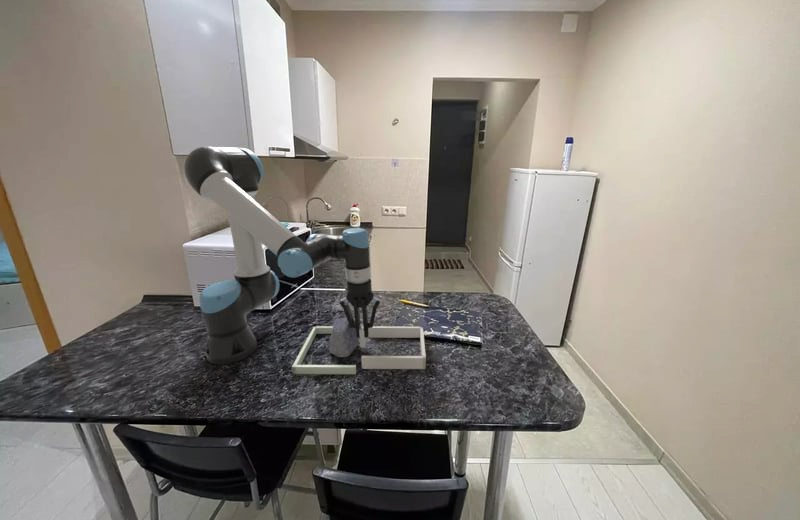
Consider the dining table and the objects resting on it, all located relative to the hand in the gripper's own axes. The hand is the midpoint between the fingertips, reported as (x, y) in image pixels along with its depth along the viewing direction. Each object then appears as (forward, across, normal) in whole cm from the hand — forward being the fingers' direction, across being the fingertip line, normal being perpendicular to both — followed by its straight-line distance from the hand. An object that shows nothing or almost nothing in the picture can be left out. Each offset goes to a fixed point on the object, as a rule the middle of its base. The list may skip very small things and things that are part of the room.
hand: (363, 345), depth 101 cm
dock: (+3, +10, 0) cm, 11 cm away
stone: (+3, -7, +1) cm, 7 cm away
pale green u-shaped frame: (+2, -10, 0) cm, 11 cm away
